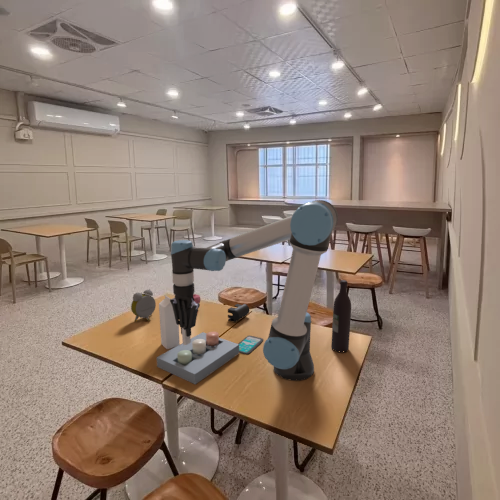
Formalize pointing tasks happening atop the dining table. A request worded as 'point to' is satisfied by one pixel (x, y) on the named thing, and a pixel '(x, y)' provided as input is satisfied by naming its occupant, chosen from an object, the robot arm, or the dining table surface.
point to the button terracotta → (212, 338)
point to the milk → (168, 324)
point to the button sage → (184, 357)
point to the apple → (196, 298)
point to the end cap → (238, 312)
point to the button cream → (199, 346)
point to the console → (198, 359)
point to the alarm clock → (143, 304)
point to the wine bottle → (341, 319)
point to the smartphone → (249, 344)
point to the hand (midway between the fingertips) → (186, 343)
